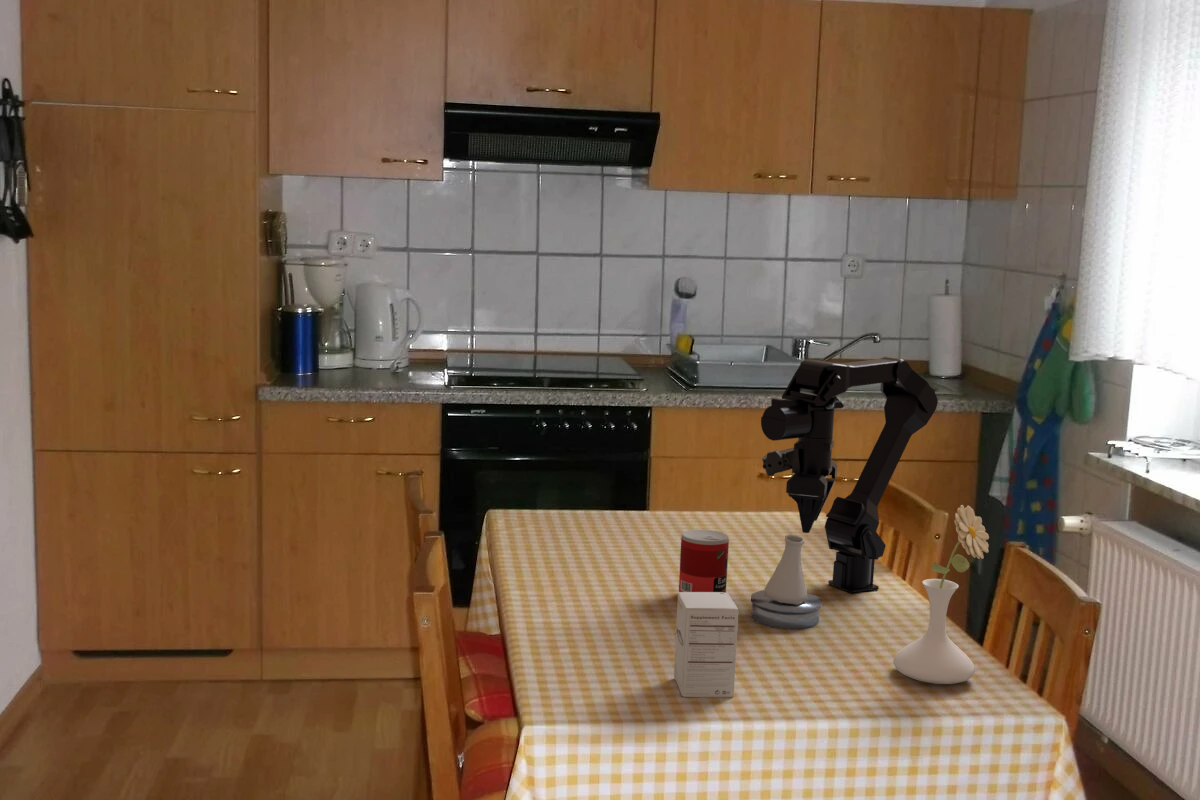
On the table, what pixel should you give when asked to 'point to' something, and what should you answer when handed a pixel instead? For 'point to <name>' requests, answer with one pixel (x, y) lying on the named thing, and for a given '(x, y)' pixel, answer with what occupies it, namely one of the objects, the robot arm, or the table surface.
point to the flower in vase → (944, 614)
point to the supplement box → (706, 644)
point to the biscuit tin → (785, 612)
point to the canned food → (703, 561)
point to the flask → (788, 575)
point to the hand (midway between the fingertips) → (809, 526)
